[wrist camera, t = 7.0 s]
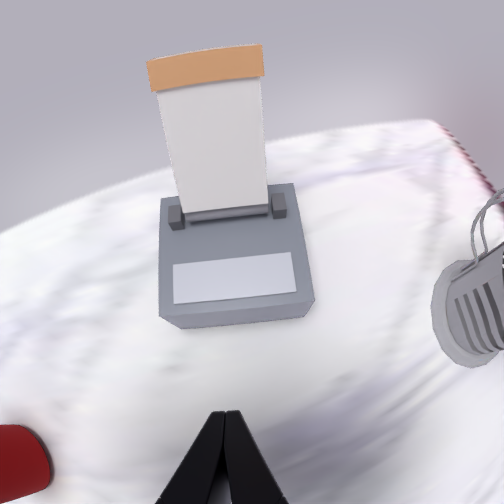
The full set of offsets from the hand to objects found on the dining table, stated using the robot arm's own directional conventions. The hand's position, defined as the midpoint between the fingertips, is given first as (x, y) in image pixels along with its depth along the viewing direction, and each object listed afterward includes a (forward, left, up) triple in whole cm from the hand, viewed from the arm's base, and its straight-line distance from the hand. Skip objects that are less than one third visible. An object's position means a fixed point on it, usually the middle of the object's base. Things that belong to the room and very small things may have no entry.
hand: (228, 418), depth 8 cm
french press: (-14, -13, -13) cm, 23 cm away
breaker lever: (+6, -9, -7) cm, 13 cm away
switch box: (+5, -8, -13) cm, 15 cm away
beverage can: (+14, +18, -13) cm, 26 cm away
